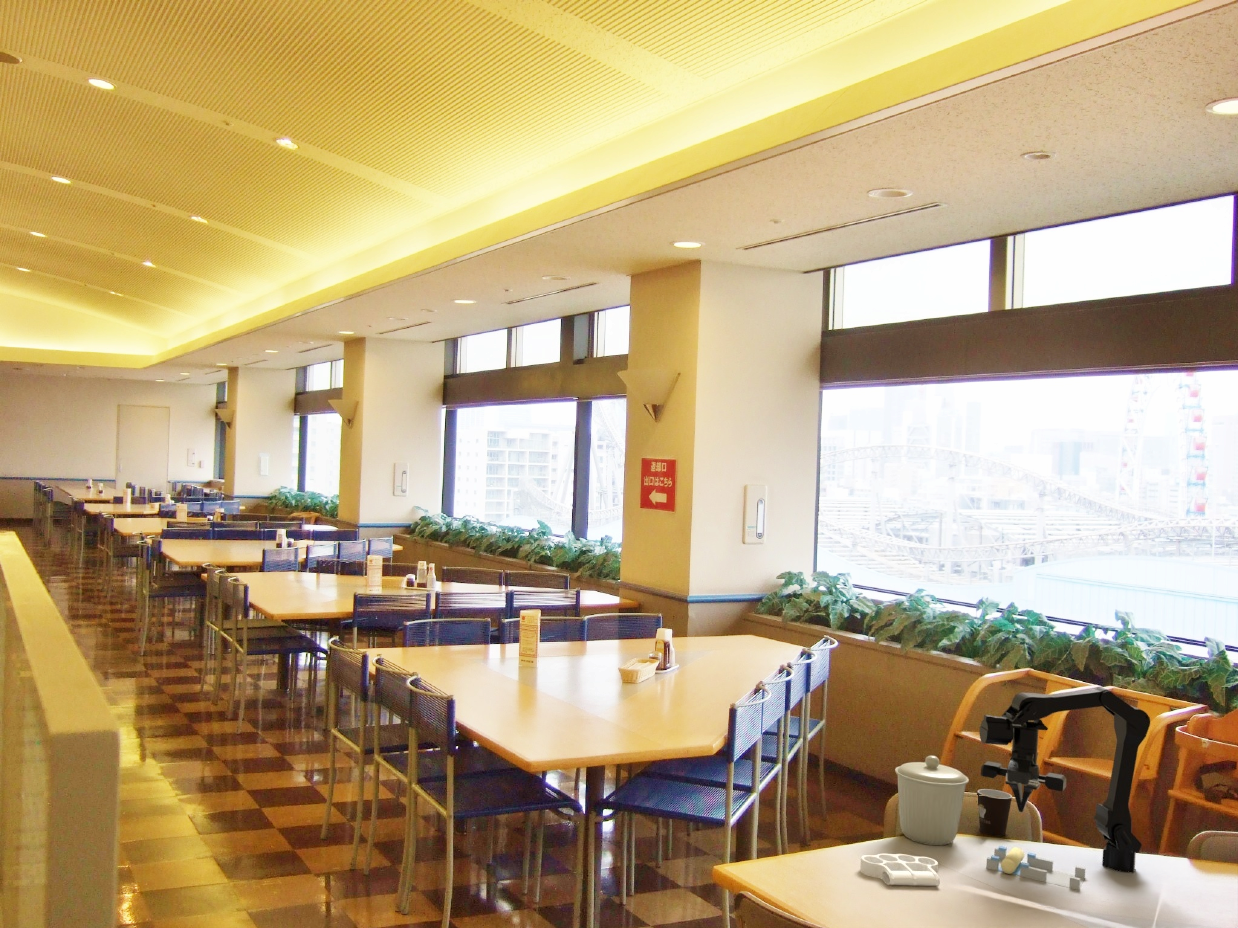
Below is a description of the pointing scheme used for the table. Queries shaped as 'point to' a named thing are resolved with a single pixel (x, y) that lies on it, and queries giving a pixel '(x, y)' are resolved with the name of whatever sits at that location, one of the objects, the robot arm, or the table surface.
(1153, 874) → the table surface
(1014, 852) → the cream capsule cylinder
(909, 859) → the white brass knuckles
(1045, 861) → the toy block layout
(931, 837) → the canister
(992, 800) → the coffee mug
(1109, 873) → the table surface
